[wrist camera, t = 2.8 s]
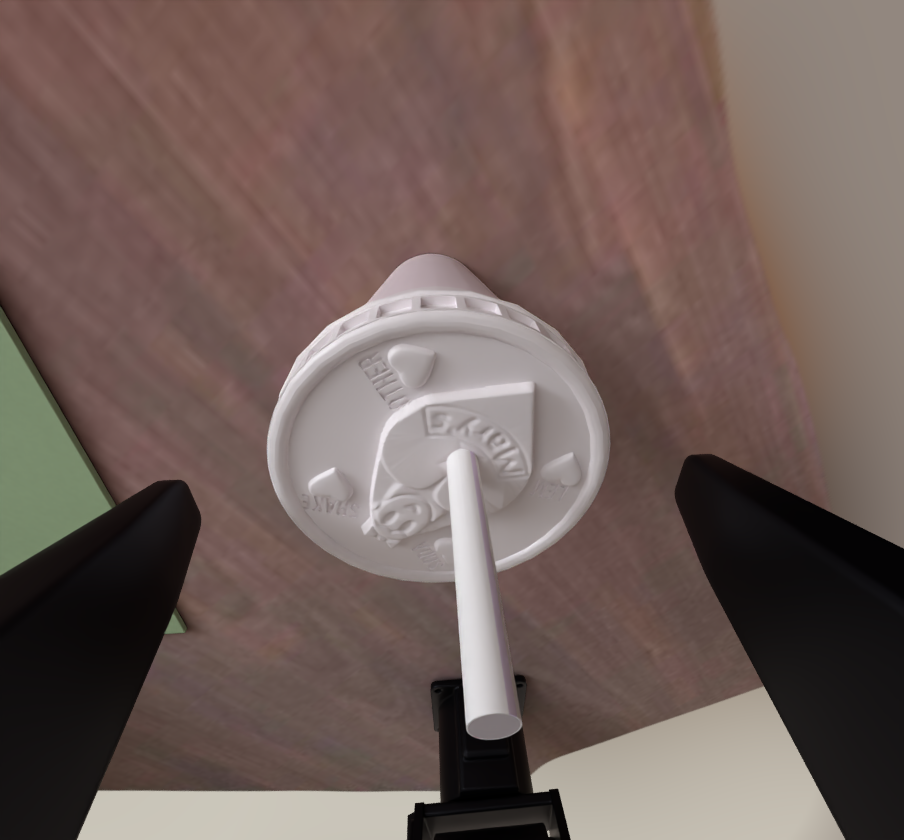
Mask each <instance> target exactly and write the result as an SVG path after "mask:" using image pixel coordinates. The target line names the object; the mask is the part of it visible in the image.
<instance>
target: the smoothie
mask: <svg viewBox="0 0 904 840" xmlns="http://www.w3.org/2000/svg"><path fill="white" fill-rule="evenodd" d="M609 455H610V428H609V423H608V417H607V413H606V410H605V407H604V404H603V401H602V399H601V397H600V395H599V393H598V390H597V388H596V387H595V385H594V383H593V382H592V380H591V379H590V377H589V375H588V373H587V370H586V368H585V365H584V363H583V361H582V359H581V358H580V357H579V356H578V355H577V354H576V352H575V351H574V350H573V349H572V348H571V346H570V345H569V344H568V343H567V342H566V340H565V339H564V338H563V337H562V336H561V335H560V333H559V332H558V331H557V330H556V329H555V328H553V327H552V326H550V325H548V324H547V323H545V322H544V321H542V320H541V319H539V318H538V317H536V316H534V315H533V314H531V313H530V312H528V311H527V310H525V309H523V308H522V307H520V306H519V305H517V304H513V303H510V302H507V301H503V300H500V299H499V298H498V297H497V296H496V295H495V294H494V293H493V292H492V291H491V290H490V289H488V288H487V287H486V286H485V285H484V284H483V283H482V282H481V281H480V280H479V279H478V278H477V277H476V276H475V275H474V274H473V273H472V272H471V271H470V270H469V269H468V268H467V267H466V266H464V265H463V264H462V263H460V262H459V261H457V260H455V259H453V258H451V257H448V256H445V255H440V254H424V255H419V256H416V257H413V258H411V259H409V260H407V261H405V262H403V263H402V264H401V265H399V266H398V267H397V268H396V269H395V270H394V271H393V273H392V274H391V275H390V276H389V277H388V279H387V280H386V281H385V282H384V283H383V284H382V286H381V287H380V288H379V289H378V290H377V292H376V293H375V294H374V295H373V296H372V298H371V299H370V300H369V301H368V302H367V304H365V305H363V306H362V307H360V308H358V309H356V310H355V311H353V312H351V313H349V314H347V315H346V316H344V317H342V318H340V319H338V320H337V321H335V322H333V323H331V324H330V325H328V326H327V327H326V328H325V329H324V330H323V331H322V332H321V333H320V334H319V335H318V336H317V337H316V338H315V339H314V340H313V342H312V343H311V344H310V345H309V346H308V347H307V348H306V349H305V350H304V351H303V352H302V353H301V354H300V355H299V356H298V357H297V359H296V361H295V363H294V365H293V367H292V369H291V371H290V373H289V375H288V377H287V379H286V381H285V383H284V386H283V388H282V390H281V392H280V394H279V400H278V402H277V405H276V407H275V409H274V412H273V415H272V418H271V422H270V426H269V432H268V437H267V460H268V468H269V473H270V478H271V481H272V484H273V487H274V490H275V492H276V494H277V496H278V498H279V500H280V503H281V504H282V506H283V508H284V509H285V511H286V512H287V514H288V515H289V517H290V518H291V519H292V520H293V522H294V523H295V524H296V525H297V527H298V528H299V529H300V530H301V531H302V532H303V533H304V534H305V535H306V536H307V537H308V538H310V539H311V540H312V541H313V542H314V543H315V544H317V545H318V546H320V547H321V548H322V549H324V550H325V551H326V552H328V553H329V554H331V555H333V556H335V557H336V558H338V559H340V560H342V561H344V562H346V563H347V564H349V565H351V566H354V567H357V568H359V569H362V570H365V571H367V572H370V573H373V574H376V575H380V576H385V577H389V578H394V579H398V580H403V581H415V582H427V583H435V582H455V584H456V597H457V611H458V625H459V638H460V652H461V666H462V679H463V693H464V707H465V721H466V731H467V733H468V734H469V735H471V736H472V737H475V738H478V739H484V740H495V739H501V738H505V737H508V736H511V735H513V734H515V733H516V732H518V731H519V730H520V729H521V727H522V719H521V714H520V708H519V702H518V696H517V690H516V684H515V678H514V672H513V666H512V660H511V654H510V648H509V642H508V637H507V631H506V625H505V619H504V613H503V607H502V601H501V595H500V589H499V583H498V577H497V573H498V572H501V571H504V570H508V569H510V568H512V567H515V566H517V565H519V564H521V563H523V562H525V561H527V560H530V559H532V558H534V557H535V556H537V555H538V554H540V553H541V552H543V551H545V550H546V549H548V548H549V547H551V546H552V545H554V544H555V543H556V542H557V541H559V540H560V539H561V538H562V537H563V536H564V535H566V534H567V533H568V532H569V531H570V530H571V529H572V528H573V527H574V526H575V525H576V524H577V523H578V521H579V520H580V519H581V518H582V517H583V516H584V514H585V513H586V511H587V510H588V509H589V507H590V506H591V504H592V503H593V501H594V499H595V497H596V495H597V494H598V492H599V489H600V487H601V485H602V482H603V480H604V477H605V473H606V470H607V466H608V461H609Z"/></svg>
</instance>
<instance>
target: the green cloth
mask: <svg viewBox="0 0 904 840" xmlns="http://www.w3.org/2000/svg"><path fill="white" fill-rule="evenodd" d="M115 506H116V504H115V503H114V501H113V499H112V498H111V496H110V494H109V492H108V491H107V489H106V487H105V486H104V484H103V482H102V480H101V479H100V477H99V475H98V473H97V472H96V470H95V468H94V467H93V465H92V463H91V461H90V460H89V458H88V456H87V454H86V453H85V451H84V449H83V448H82V446H81V444H80V442H79V441H78V439H77V437H76V435H75V434H74V432H73V430H72V429H71V427H70V425H69V423H68V422H67V420H66V418H65V416H64V415H63V413H62V411H61V410H60V408H59V406H58V404H57V403H56V401H55V399H54V398H53V396H52V394H51V392H50V391H49V389H48V387H47V385H46V384H45V382H44V380H43V379H42V377H41V375H40V373H39V372H38V370H37V368H36V366H35V365H34V363H33V361H32V360H31V358H30V356H29V354H28V353H27V351H26V349H25V347H24V346H23V344H22V342H21V341H20V339H19V337H18V335H17V334H16V332H15V330H14V329H13V327H12V325H11V323H10V322H9V320H8V318H7V316H6V315H5V313H4V311H3V310H2V308H1V306H0V575H2V574H3V573H5V572H7V571H8V570H10V569H12V568H13V567H15V566H17V565H18V564H20V563H22V562H23V561H25V560H27V559H28V558H30V557H32V556H33V555H35V554H37V553H38V552H40V551H42V550H43V549H45V548H47V547H48V546H50V545H52V544H53V543H55V542H57V541H58V540H60V539H62V538H63V537H65V536H67V535H68V534H70V533H72V532H73V531H75V530H77V529H78V528H80V527H82V526H83V525H85V524H87V523H88V522H90V521H92V520H93V519H95V518H97V517H98V516H100V515H102V514H103V513H105V512H107V511H108V510H110V509H112V508H113V507H115ZM186 630H187V627H186V625H185V624H184V622H183V620H182V618H181V617H180V615H179V613H178V611H177V610H176V608H175V610H174V612H173V615H172V617H171V620H170V622H169V625H168V627H167V629H166V632H165V634H172V633H185V632H186Z"/></svg>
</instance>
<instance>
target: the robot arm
mask: <svg viewBox="0 0 904 840" xmlns="http://www.w3.org/2000/svg"><path fill="white" fill-rule="evenodd" d="M675 499H676V503H677V506H678V508H679V511H680V513H681V516H682V518H683V521H684V523H685V526H686V528H687V531H688V533H689V536H690V538H691V541H692V543H693V546H694V548H695V551H696V553H697V556H698V558H699V561H700V563H701V565H702V568H703V570H704V572H705V574H706V577H707V579H708V581H709V583H710V585H711V587H712V589H713V590H714V592H715V594H716V596H717V598H718V600H719V602H720V604H721V606H722V607H723V609H724V611H725V613H726V615H727V617H728V619H729V621H730V623H731V624H732V626H733V628H734V630H735V632H736V634H737V636H738V638H739V640H740V641H741V643H742V645H743V647H744V649H745V651H746V653H747V655H748V657H749V658H750V660H751V662H752V664H753V666H754V668H755V670H756V672H757V674H758V675H759V677H760V679H761V681H762V683H763V685H764V687H765V689H766V691H767V692H768V694H769V696H770V698H771V700H772V702H773V704H774V706H775V707H776V709H777V711H778V713H779V715H780V717H781V719H782V721H783V723H784V725H785V726H786V728H787V730H788V732H789V734H790V736H791V738H792V740H793V742H794V743H795V745H796V747H797V749H798V751H799V753H800V755H801V757H802V759H803V760H804V762H805V764H806V766H807V768H808V770H809V772H810V774H811V775H812V777H813V779H814V781H815V783H816V785H817V787H818V789H819V791H820V792H821V794H822V796H823V798H824V800H825V802H826V804H827V806H828V808H829V809H830V811H831V813H832V815H833V817H834V819H835V821H836V823H837V825H838V827H839V828H840V830H841V832H842V834H843V836H844V838H845V840H904V549H903V548H901V547H899V546H897V545H895V544H893V543H891V542H889V541H887V540H885V539H883V538H881V537H879V536H877V535H875V534H873V533H871V532H869V531H867V530H865V529H863V528H861V527H859V526H857V525H854V524H853V523H851V522H849V521H847V520H844V519H843V518H840V517H839V516H837V515H835V514H833V513H831V512H828V511H826V510H824V509H822V508H820V507H818V506H816V505H814V504H812V503H810V502H808V501H806V500H804V499H802V498H800V497H798V496H796V495H794V494H792V493H790V492H788V491H786V490H784V489H782V488H780V487H778V486H776V485H774V484H772V483H770V482H768V481H766V480H764V479H762V478H760V477H758V476H756V475H754V474H752V473H750V472H748V471H746V470H743V469H741V468H739V467H737V466H735V465H733V464H731V463H729V462H727V461H725V460H723V459H721V458H719V457H717V456H715V455H712V454H697V455H690V456H688V457H687V458H686V459H685V461H684V463H683V466H682V469H681V473H680V476H679V479H678V482H677V485H676V488H675ZM200 526H201V515H200V511H199V509H198V507H197V505H196V502H195V500H194V498H193V496H192V493H191V491H190V489H189V487H188V485H187V484H186V483H185V482H184V481H182V480H163V481H157V482H155V483H153V484H152V485H150V486H148V487H147V488H145V489H143V490H142V491H140V492H138V493H137V494H135V495H133V496H132V497H130V498H128V499H127V500H125V501H123V502H122V503H120V504H118V505H117V506H115V507H113V508H112V509H110V510H108V511H107V512H105V513H103V514H102V515H100V516H98V517H97V518H95V519H93V520H92V521H90V522H88V523H87V524H85V525H83V526H82V527H80V528H78V529H77V530H75V531H73V532H72V533H70V534H68V535H67V536H65V537H63V538H62V539H60V540H58V541H57V542H55V543H53V544H52V545H50V546H48V547H47V548H45V549H43V550H42V551H40V552H38V553H37V554H35V555H33V556H32V557H30V558H28V559H27V560H25V561H23V562H22V563H20V564H18V565H17V566H15V567H13V568H12V569H10V570H8V571H7V572H5V573H3V574H2V575H0V840H77V838H78V835H79V833H80V831H81V828H82V826H83V824H84V821H85V819H86V817H87V814H88V812H89V810H90V808H91V805H92V803H93V800H94V798H95V796H96V793H97V791H98V789H99V786H100V784H101V782H102V779H103V777H104V775H105V772H106V770H107V768H108V765H109V763H110V761H111V758H112V756H113V754H114V751H115V749H116V747H117V744H118V742H119V739H120V737H121V735H122V732H123V730H124V728H125V725H126V723H127V721H128V718H129V716H130V714H131V711H132V709H133V707H134V704H135V702H136V700H137V697H138V695H139V693H140V690H141V688H142V686H143V683H144V681H145V678H146V676H147V674H148V671H149V669H150V667H151V664H152V662H153V660H154V657H155V655H156V653H157V650H158V648H159V646H160V643H161V641H162V639H163V636H164V634H165V632H166V629H167V627H168V625H169V622H170V620H171V617H172V615H173V612H174V610H175V607H176V604H177V602H178V599H179V596H180V593H181V589H182V586H183V583H184V580H185V576H186V573H187V570H188V566H189V563H190V560H191V557H192V553H193V550H194V547H195V543H196V540H197V537H198V534H199V530H200ZM514 678H515V684H516V690H517V696H518V702H519V708H520V714H521V719H522V716H523V708H524V701H525V694H526V686H527V684H526V679H525V677H524V676H514ZM431 699H432V710H433V721H434V730H435V731H436V732H439V758H440V792H441V793H440V796H441V803H433V804H432V803H431V804H424V803H415V811H414V812H413V813H412V814H410V815H408V827H407V840H571V839H570V835H569V831H568V828H567V823H566V819H565V815H564V811H563V807H562V803H561V799H560V794H559V791H558V789H551V790H549V792H539V793H533V788H532V782H531V776H530V770H529V764H528V758H527V752H526V746H525V740H524V734H523V728H522V727H521V729H520V730H519V731H518V732H516V733H515V734H513V735H511V736H508V737H505V738H501V739H495V740H484V739H478V738H475V737H472V736H471V735H469V734H468V733H467V731H466V721H465V707H464V693H463V679H460V680H445V681H435V682H433V683H432V684H431ZM548 830H549V831H550V837H548V834H547V831H548Z"/></svg>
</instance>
